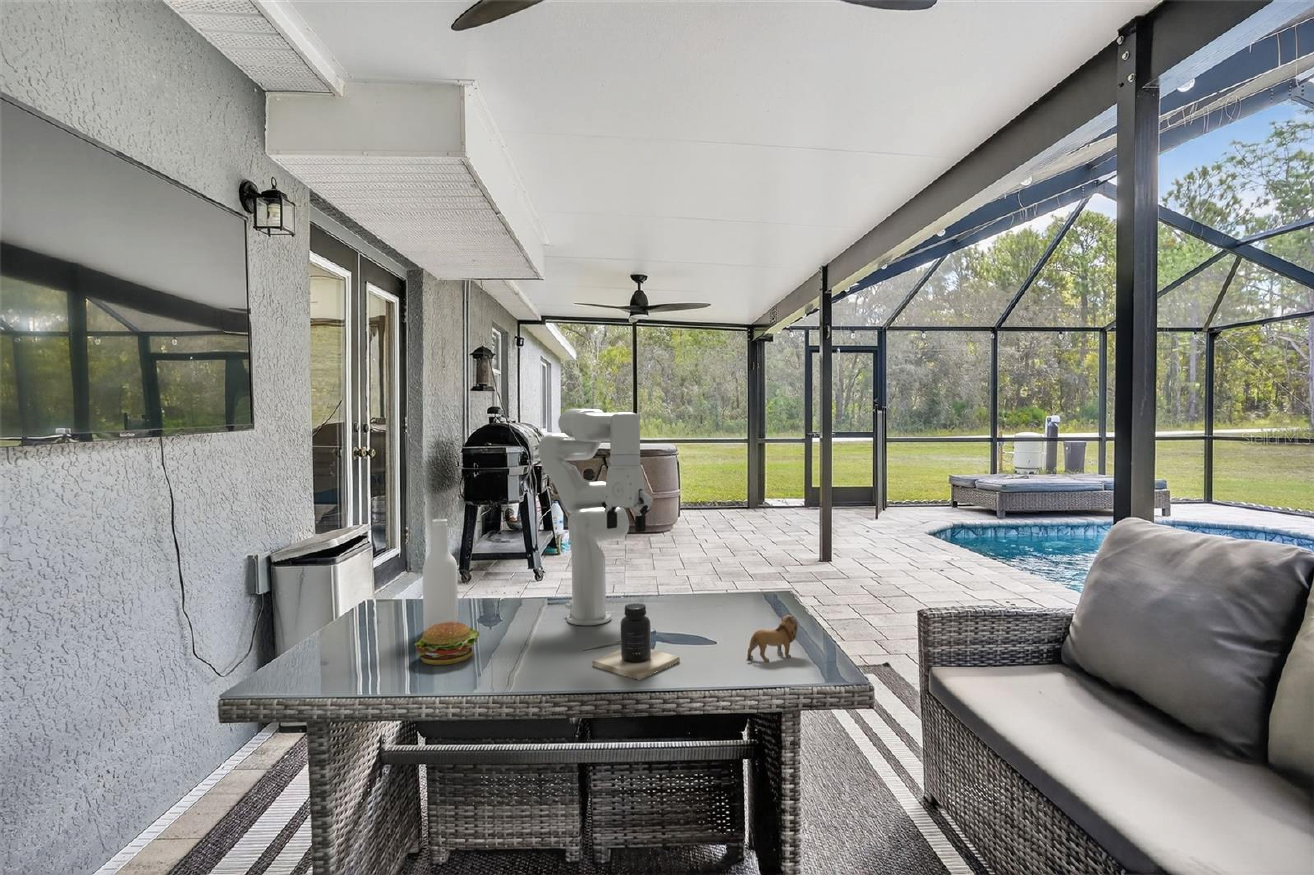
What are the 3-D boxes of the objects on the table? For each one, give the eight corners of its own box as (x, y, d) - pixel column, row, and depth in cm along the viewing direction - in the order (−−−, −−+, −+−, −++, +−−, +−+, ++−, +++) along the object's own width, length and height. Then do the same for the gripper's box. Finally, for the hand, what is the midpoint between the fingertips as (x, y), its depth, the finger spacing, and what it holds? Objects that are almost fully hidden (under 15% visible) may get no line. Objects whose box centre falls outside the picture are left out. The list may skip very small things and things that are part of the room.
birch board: (592, 665, 143) (592, 660, 143) (634, 649, 154) (634, 644, 154) (639, 680, 134) (638, 675, 134) (679, 662, 145) (679, 657, 145)
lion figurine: (788, 648, 154) (788, 611, 154) (804, 655, 149) (803, 616, 149) (740, 660, 146) (739, 621, 146) (754, 667, 142) (754, 626, 142)
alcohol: (416, 634, 168) (414, 521, 168) (439, 624, 177) (438, 517, 177) (442, 637, 165) (441, 522, 165) (464, 628, 173) (463, 518, 173)
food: (454, 671, 141) (454, 635, 141) (404, 664, 146) (404, 629, 146) (491, 651, 154) (491, 618, 154) (444, 645, 159) (443, 613, 159)
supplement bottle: (620, 654, 148) (620, 602, 148) (649, 652, 148) (649, 601, 148) (621, 664, 141) (620, 610, 141) (652, 663, 141) (651, 609, 141)
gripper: (590, 461, 162) (591, 528, 162) (641, 463, 151) (642, 534, 151) (610, 460, 168) (611, 525, 168) (661, 461, 157) (662, 531, 157)
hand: (626, 529), depth 160 cm, fingers open, 9 cm apart
